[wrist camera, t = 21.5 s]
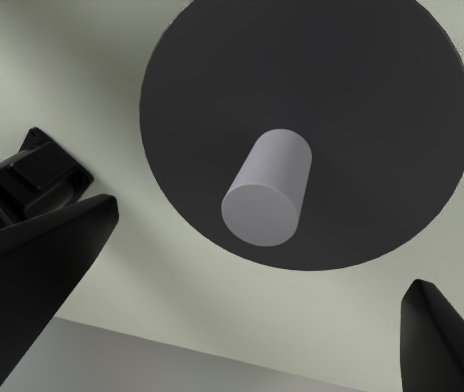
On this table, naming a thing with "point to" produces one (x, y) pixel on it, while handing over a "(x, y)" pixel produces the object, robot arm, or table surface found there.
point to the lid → (305, 126)
